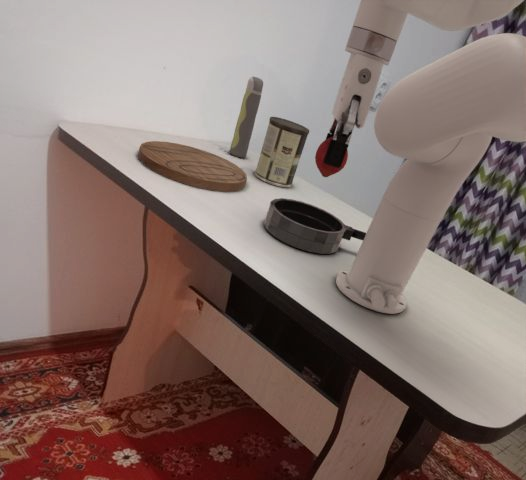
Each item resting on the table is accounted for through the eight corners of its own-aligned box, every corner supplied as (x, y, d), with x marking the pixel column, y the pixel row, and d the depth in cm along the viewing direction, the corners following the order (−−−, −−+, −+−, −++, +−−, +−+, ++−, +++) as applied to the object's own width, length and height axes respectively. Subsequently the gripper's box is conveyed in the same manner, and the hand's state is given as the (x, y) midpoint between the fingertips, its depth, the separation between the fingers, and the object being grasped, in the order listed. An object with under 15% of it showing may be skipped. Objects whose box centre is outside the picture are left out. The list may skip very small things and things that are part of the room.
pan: (341, 263, 87) (350, 241, 84) (262, 238, 85) (269, 215, 82) (334, 234, 100) (342, 214, 97) (265, 212, 98) (271, 191, 95)
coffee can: (277, 174, 127) (293, 120, 120) (298, 189, 121) (317, 133, 113) (246, 170, 121) (262, 113, 113) (268, 185, 115) (286, 126, 107)
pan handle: (396, 255, 92) (401, 246, 91) (340, 237, 91) (344, 227, 90) (394, 251, 94) (398, 241, 93) (339, 233, 93) (343, 223, 92)
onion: (338, 185, 83) (355, 139, 78) (308, 174, 83) (323, 127, 79) (339, 179, 88) (356, 135, 83) (311, 169, 88) (326, 124, 83)
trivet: (117, 145, 105) (118, 136, 104) (205, 153, 122) (206, 146, 121) (178, 190, 92) (180, 180, 91) (265, 193, 109) (268, 185, 108)
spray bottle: (240, 153, 134) (260, 77, 123) (248, 159, 131) (269, 82, 120) (226, 151, 131) (245, 73, 120) (233, 157, 128) (253, 77, 117)
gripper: (402, 56, 67) (355, 179, 77) (382, 55, 82) (344, 158, 91) (354, 39, 66) (312, 165, 76) (342, 41, 81) (308, 146, 91)
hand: (330, 160), depth 84 cm, fingers closed on onion, 5 cm apart
